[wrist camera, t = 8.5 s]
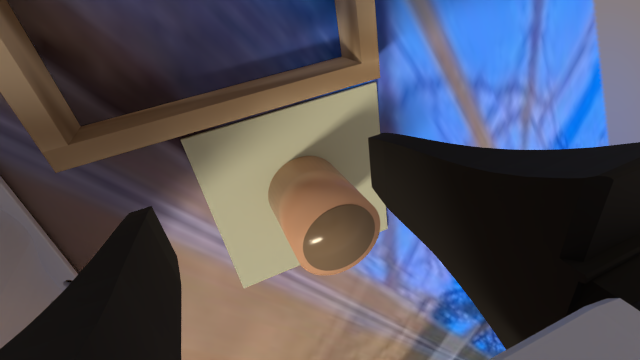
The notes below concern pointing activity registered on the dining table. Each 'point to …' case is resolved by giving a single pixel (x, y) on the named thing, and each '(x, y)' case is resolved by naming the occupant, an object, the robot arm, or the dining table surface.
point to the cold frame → (179, 116)
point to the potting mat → (267, 158)
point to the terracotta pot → (322, 215)
